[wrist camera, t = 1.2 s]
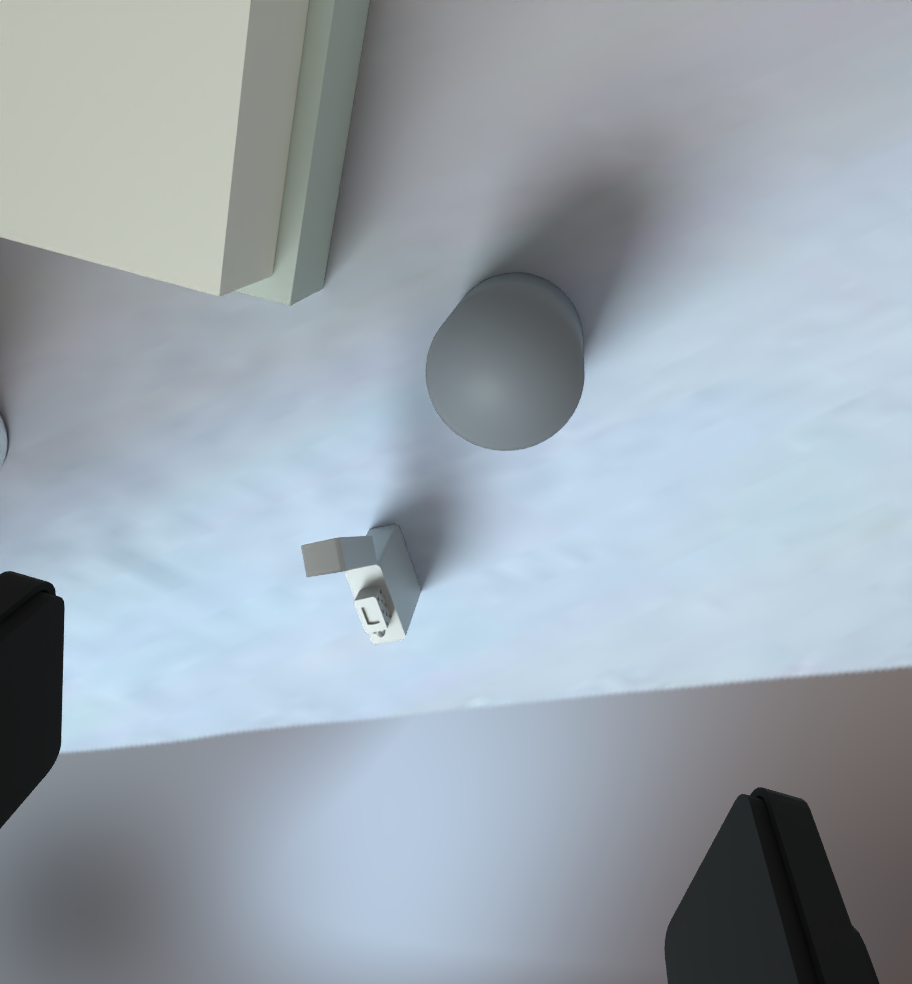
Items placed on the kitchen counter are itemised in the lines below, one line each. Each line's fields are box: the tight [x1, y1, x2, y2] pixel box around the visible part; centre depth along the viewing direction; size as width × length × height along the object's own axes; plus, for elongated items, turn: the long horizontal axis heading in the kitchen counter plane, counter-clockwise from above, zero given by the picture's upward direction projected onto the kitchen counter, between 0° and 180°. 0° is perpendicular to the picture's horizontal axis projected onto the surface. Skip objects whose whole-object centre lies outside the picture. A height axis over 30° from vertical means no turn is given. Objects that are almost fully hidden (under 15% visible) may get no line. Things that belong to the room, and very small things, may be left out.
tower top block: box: [0, 0, 309, 296], centre depth 26 cm, size 10×10×5 cm
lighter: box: [301, 524, 421, 644], centre depth 36 cm, size 7×2×8 cm, turn 17°
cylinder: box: [426, 273, 584, 451], centre depth 32 cm, size 6×6×6 cm
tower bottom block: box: [235, 0, 370, 306], centre depth 31 cm, size 12×12×5 cm
